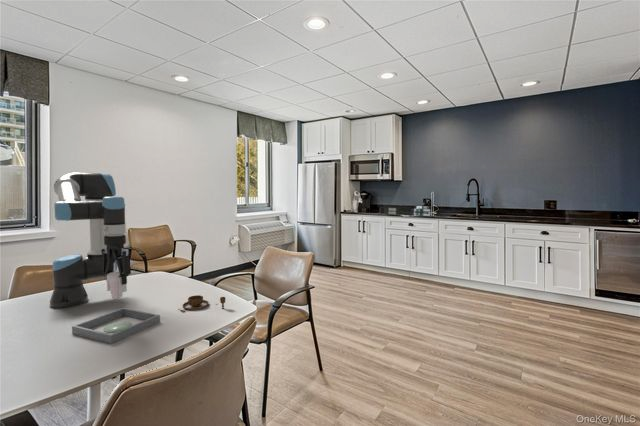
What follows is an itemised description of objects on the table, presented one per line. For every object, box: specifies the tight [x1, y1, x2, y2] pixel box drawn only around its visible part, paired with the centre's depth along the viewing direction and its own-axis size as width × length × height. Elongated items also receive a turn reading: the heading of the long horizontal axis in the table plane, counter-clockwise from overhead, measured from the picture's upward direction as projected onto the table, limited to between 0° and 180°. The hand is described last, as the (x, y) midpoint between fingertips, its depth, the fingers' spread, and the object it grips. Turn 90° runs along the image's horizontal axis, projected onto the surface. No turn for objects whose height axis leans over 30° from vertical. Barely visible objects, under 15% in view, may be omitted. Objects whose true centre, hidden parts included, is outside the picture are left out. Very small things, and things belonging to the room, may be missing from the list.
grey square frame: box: [71, 307, 161, 345], centre depth 135 cm, size 22×22×3 cm
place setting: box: [177, 294, 226, 313], centre depth 158 cm, size 18×20×6 cm
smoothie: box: [107, 263, 124, 299], centre depth 133 cm, size 6×6×14 cm
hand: (116, 290), depth 134 cm, fingers closed on smoothie, 6 cm apart
